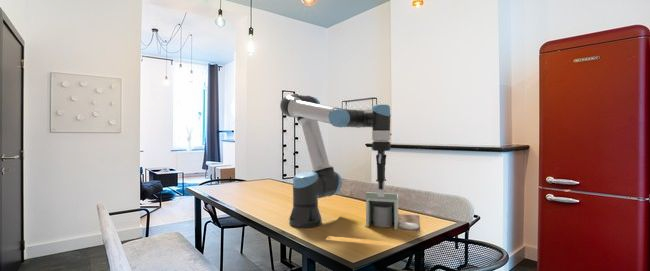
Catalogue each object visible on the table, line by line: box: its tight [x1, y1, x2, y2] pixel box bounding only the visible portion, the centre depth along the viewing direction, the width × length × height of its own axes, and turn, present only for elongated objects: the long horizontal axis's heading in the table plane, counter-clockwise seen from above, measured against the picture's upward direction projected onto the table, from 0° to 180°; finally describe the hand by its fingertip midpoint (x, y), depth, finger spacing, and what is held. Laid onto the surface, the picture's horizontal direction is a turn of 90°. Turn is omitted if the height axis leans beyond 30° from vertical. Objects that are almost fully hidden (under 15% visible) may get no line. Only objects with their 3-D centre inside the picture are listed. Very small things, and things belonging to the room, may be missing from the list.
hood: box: [365, 191, 399, 230], centre depth 143 cm, size 13×12×15 cm
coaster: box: [399, 223, 419, 229], centre depth 140 cm, size 9×9×1 cm
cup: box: [372, 203, 393, 228], centre depth 143 cm, size 8×8×10 cm
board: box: [364, 213, 421, 232], centre depth 149 cm, size 23×26×2 cm
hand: (381, 196), depth 136 cm, fingers closed
